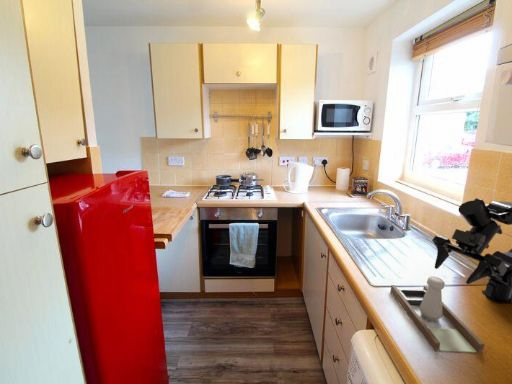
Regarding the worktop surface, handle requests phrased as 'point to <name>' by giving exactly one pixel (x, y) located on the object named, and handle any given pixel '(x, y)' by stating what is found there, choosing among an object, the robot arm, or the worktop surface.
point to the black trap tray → (413, 296)
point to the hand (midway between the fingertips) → (450, 275)
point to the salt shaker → (432, 300)
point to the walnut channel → (443, 337)
